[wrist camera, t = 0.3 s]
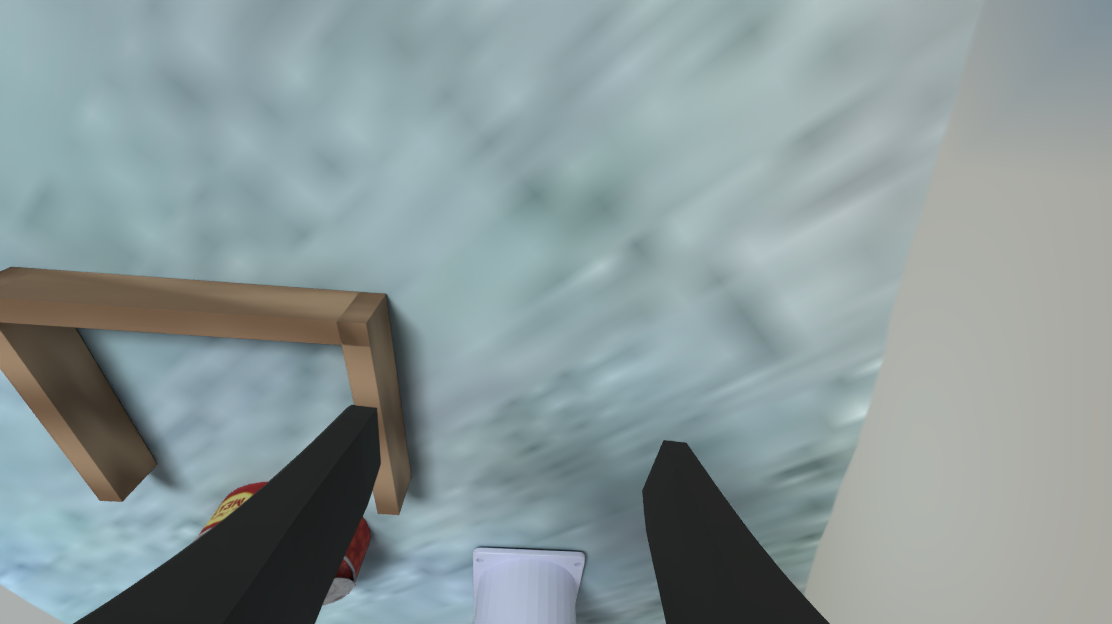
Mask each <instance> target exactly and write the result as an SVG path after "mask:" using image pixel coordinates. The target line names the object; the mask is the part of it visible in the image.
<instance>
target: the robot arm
mask: <svg viewBox="0 0 1112 624" xmlns="http://www.w3.org/2000/svg"><path fill="white" fill-rule="evenodd" d="M380 466H381V455H380V441H379V427H378V413H377V408H375V407H366V406H357V405H350V406H349V407H347V408H346V409H345V410H344V411H343V412H342V413H341V414H340V415H339V416H338V417H337V418H336V419H335V420H334V421H333V422H332V423H331V424H330V425H329V426H328V427H327V428H326V429H325V430H324V431H323V432H322V433H321V434H320V435H319V436H318V437H317V438H316V439H315V440H314V441H313V442H312V443H311V444H309V445H308V446H307V447H306V448H305V449H304V450H303V451H302V452H301V453H300V454H299V455H298V456H297V457H295V458H294V459H293V460H292V461H291V462H290V463H289V464H288V465H287V466H286V467H284V468H283V469H282V470H281V471H280V472H279V473H278V474H277V475H276V476H274V477H273V478H272V479H271V480H270V481H269V482H268V483H266V484H265V485H264V486H263V487H262V488H260V489H259V490H258V491H257V492H256V493H254V494H253V495H252V496H251V497H250V498H249V499H247V500H246V501H245V502H244V503H243V504H241V505H240V506H239V507H238V508H237V509H235V510H234V511H233V512H232V513H230V514H229V515H228V516H227V517H225V518H224V519H223V520H222V521H220V522H219V523H218V524H217V525H215V526H214V527H213V528H211V529H210V530H209V531H207V532H206V533H205V534H204V535H202V536H201V537H200V538H198V539H197V540H196V541H194V542H193V543H191V544H190V545H189V546H187V547H186V548H185V549H183V550H182V551H181V552H179V553H178V554H177V555H175V556H174V557H172V558H171V559H170V560H168V561H167V562H165V563H164V564H162V565H161V566H160V567H158V568H157V569H155V570H154V571H152V572H151V573H149V574H148V575H147V576H145V577H144V578H142V579H141V580H139V581H138V582H137V583H135V584H134V585H132V586H131V587H129V588H128V589H126V590H125V591H123V592H122V593H120V594H119V595H117V596H116V597H114V598H113V599H111V600H110V601H108V602H107V603H105V604H104V605H102V606H101V607H99V608H97V609H96V610H94V611H93V612H91V613H89V614H88V615H86V616H85V617H83V618H81V619H80V620H78V621H77V622H75V623H73V624H315V622H316V619H317V617H318V615H319V612H320V610H321V607H322V605H323V603H324V600H325V598H326V596H327V594H328V592H329V589H330V587H331V585H332V583H333V581H334V578H335V576H336V574H337V572H338V570H339V567H340V565H341V563H342V561H343V559H344V556H345V554H346V552H347V550H348V548H349V545H350V543H351V541H352V539H353V537H354V534H355V532H356V530H357V528H358V526H359V523H360V521H361V519H362V517H363V514H364V512H365V510H366V508H367V505H368V502H369V499H370V496H371V494H372V491H373V488H374V485H375V481H376V478H377V475H378V472H379V469H380ZM642 492H643V503H644V514H645V523H646V532H647V537H648V542H649V546H650V551H651V556H652V561H653V565H654V570H655V574H656V579H657V583H658V588H659V593H660V597H661V602H662V606H663V611H664V615H665V620H666V624H829V622H828V621H827V620H826V619H825V618H824V617H823V616H822V615H821V614H820V613H819V612H818V611H817V610H816V609H815V608H814V607H813V605H812V604H811V603H810V602H809V601H808V600H807V599H806V598H805V597H804V595H803V594H802V593H801V592H800V591H799V590H798V589H797V588H796V587H795V586H794V584H793V583H792V582H791V581H790V580H789V579H788V578H787V576H786V575H785V574H784V573H783V572H782V571H781V569H780V568H779V567H778V566H777V565H776V563H775V562H774V561H773V560H772V558H771V557H770V556H769V555H768V554H767V552H766V551H765V550H764V549H763V547H762V546H761V545H760V544H759V542H758V541H757V540H756V539H755V537H754V536H753V535H752V533H751V532H750V531H749V530H748V528H747V527H746V526H745V524H744V523H743V522H742V520H741V519H740V518H739V516H738V515H737V514H736V512H735V511H734V509H733V508H732V507H731V505H730V504H729V503H728V501H727V500H726V499H725V497H724V496H723V494H722V493H721V492H720V490H719V489H718V487H717V486H716V484H715V483H714V482H713V480H712V479H711V477H710V476H709V474H708V473H707V472H706V470H705V469H704V467H703V466H702V464H701V463H700V462H699V460H698V459H697V457H696V456H695V454H694V453H693V452H692V450H691V449H690V447H689V446H688V444H687V443H684V442H675V441H666V440H663V443H662V445H661V447H660V450H659V452H658V455H657V457H656V459H655V462H654V464H653V466H652V469H651V471H650V474H649V476H648V478H647V481H646V483H645V485H644V488H643V490H642ZM584 563H585V555H584V554H583V553H582V552H571V551H549V550H526V549H504V548H476V549H475V550H474V552H473V578H474V620H473V624H576V611H575V604H576V599H577V595H578V590H579V586H580V581H581V577H582V572H583V568H584Z"/></svg>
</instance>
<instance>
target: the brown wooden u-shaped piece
mask: <svg viewBox="0 0 1112 624" xmlns="http://www.w3.org/2000/svg"><path fill="white" fill-rule="evenodd" d="M75 327H77V328H92V329H108V330H123V331H138V332H153V333H168V334H183V335H198V336H214V337H229V338H244V339H259V340H274V341H289V342H304V343H319V344H335V345H342V350H343V354H344V359H345V364H346V368H347V373H348V377H349V382H350V387H351V391H352V396H353V401H354V405H357V406H366V407H375V408H377V413H378V427H379V441H380V455H381V466H380V469H379V472H378V475H377V478H376V481H375V485H374V488H373V494H374V498H375V503H376V508H377V512H378V514H391V515H399V514H400V511H401V508H402V505H403V502H404V498H405V495H406V492H407V489H408V486H409V483H410V480H411V472H410V465H409V458H408V450H407V443H406V436H405V429H404V421H403V414H402V407H401V400H400V392H399V385H398V378H397V371H396V363H395V356H394V349H393V342H392V334H391V327H390V320H389V313H388V305H387V298H386V294H381V293H367V292H353V291H339V290H326V289H312V288H298V287H284V286H270V285H256V284H242V283H228V282H215V281H201V280H187V279H173V278H159V277H145V276H131V275H117V274H104V273H90V272H76V271H62V270H48V269H34V268H20V267H10V268H7V269H5V270H3V271H0V369H1V370H2V372H3V373H4V374H5V376H6V377H7V378H8V380H9V381H10V382H11V384H12V385H13V386H14V388H15V389H16V390H17V392H18V393H19V394H20V396H21V397H22V398H23V400H24V401H25V402H26V404H27V405H28V406H29V408H30V409H31V410H32V412H33V413H34V414H35V416H36V417H37V418H38V419H39V421H40V422H41V423H42V425H43V426H44V427H45V429H46V430H47V431H48V433H49V434H50V435H51V437H52V438H53V439H54V441H55V442H56V443H57V445H58V446H59V447H60V449H61V450H62V451H63V453H64V454H65V455H66V457H67V458H68V459H69V461H70V462H71V463H72V465H73V466H74V467H75V468H76V470H77V471H78V472H79V474H80V475H81V476H82V478H83V479H84V480H85V482H86V483H87V484H88V486H89V487H90V488H91V490H92V491H93V492H94V494H95V495H96V496H97V498H98V499H99V500H100V501H117V502H123V501H124V500H125V498H126V497H127V496H128V495H129V494H130V493H131V492H132V491H133V490H134V489H135V488H136V487H137V486H138V485H139V484H140V483H141V481H142V480H143V479H144V478H145V477H146V476H147V475H148V474H149V473H150V472H151V471H152V470H153V469H154V468H155V467H156V465H157V463H156V462H155V460H154V458H153V457H152V455H151V453H150V452H149V450H148V448H147V447H146V445H145V443H144V442H143V440H142V438H141V437H140V435H139V433H138V432H137V430H136V428H135V427H134V425H133V423H132V422H131V420H130V418H129V417H128V415H127V413H126V412H125V410H124V408H123V407H122V405H121V403H120V402H119V400H118V398H117V397H116V395H115V393H114V392H113V390H112V388H111V387H110V385H109V383H108V382H107V380H106V378H105V377H104V375H103V373H102V372H101V370H100V368H99V367H98V365H97V363H96V362H95V360H94V358H93V357H92V355H91V353H90V352H89V350H88V348H87V347H86V345H85V343H84V342H83V340H82V338H81V337H80V335H79V333H78V332H77V330H76V328H75Z"/></svg>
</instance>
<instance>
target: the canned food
mask: <svg viewBox="0 0 1112 624" xmlns="http://www.w3.org/2000/svg"><path fill="white" fill-rule="evenodd" d="M266 483H268V482H259V483H253V484H248V485H246V486H243V487H240V488H237V489H236V490H234V491H233V492H231V493H230V494H229V495H228V496H227V497H226V498H225V499H224V501H223V502H222V503H221V505H220V506H219V508H218V509H217V510H216V512H215V513H214V515H213V516H212V517H211V519H210V520H209V521H208V523H207V524H206V526H205V527H204V528H203V530H202V531H201V533H200V534H199V535H198V537H197V538H196V539H195V540H194V541H196V540H197V539H198V538H200V537H201V536H202V535H204V534H205V533H206V532H207V531H209V530H210V529H211V528H213V527H214V526H215V525H217V524H218V523H219V522H220V521H222V520H223V519H224V518H225V517H227V516H228V515H229V514H230V513H232V512H233V511H234V510H235V509H237V508H238V507H239V506H240V505H241V504H243V503H244V502H245V501H246V500H247V499H249V498H250V497H251V496H252V495H253V494H254V493H256V492H257V491H258V490H259V489H260V488H262V487H263V486H264V485H265V484H266ZM370 538H371V535H370V529H369V526H368V524H367V522H366V520H365V519H364V518H363V517H362V519H361V521H360V523H359V526H358V528H357V530H356V532H355V534H354V537H353V539H352V541H351V543H350V545H349V548H348V550H347V552H346V554H345V556H344V559H343V561H342V563H341V565H340V567H339V570H338V572H337V574H336V576H335V578H334V581H333V583H332V585H331V587H330V589H329V592H328V594H327V596H326V598H325V600H324V603H323V605H326V604H330V603H333V602H335V601H337V600H340V599H342V598H343V597H344V596H346V595H347V594H349V593H350V591H351V590H352V589H353V588H354V587H355V586H356V585H355V581H356V578H357V575H358V573H359V570H360V567H361V565H362V562H363V559H364V556H365V554H366V551H367V548H368V546H369V542H370ZM194 541H193V542H194Z"/></svg>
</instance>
